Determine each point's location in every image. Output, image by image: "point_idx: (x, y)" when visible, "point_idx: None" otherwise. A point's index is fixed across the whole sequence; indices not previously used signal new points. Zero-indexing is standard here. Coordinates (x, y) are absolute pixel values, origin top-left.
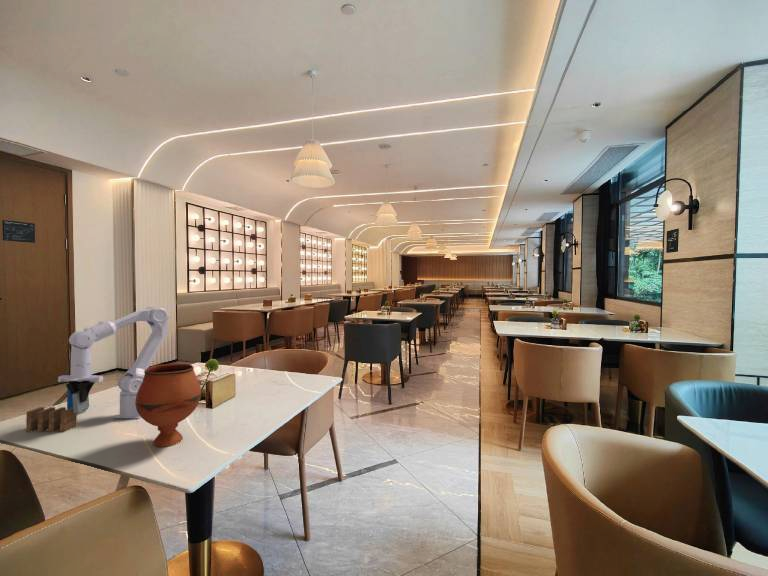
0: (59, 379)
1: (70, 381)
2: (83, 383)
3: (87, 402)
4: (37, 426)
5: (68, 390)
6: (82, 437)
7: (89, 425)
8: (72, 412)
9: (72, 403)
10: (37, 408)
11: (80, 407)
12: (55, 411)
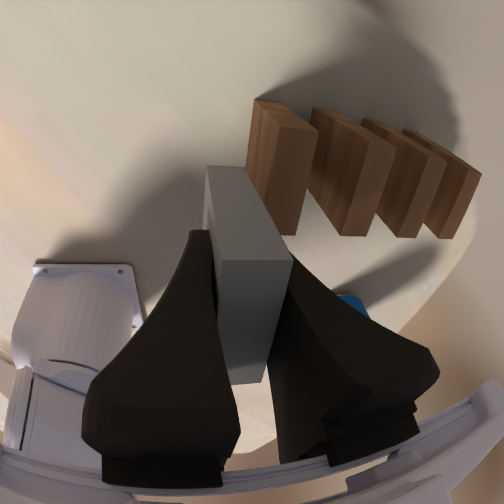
0: (501, 402)
1: (405, 432)
2: (136, 449)
3: None
4: None
5: None
6: (98, 30)
7: (182, 184)
8: (263, 183)
9: None
10: (457, 221)
11: (206, 205)
12: (365, 156)
